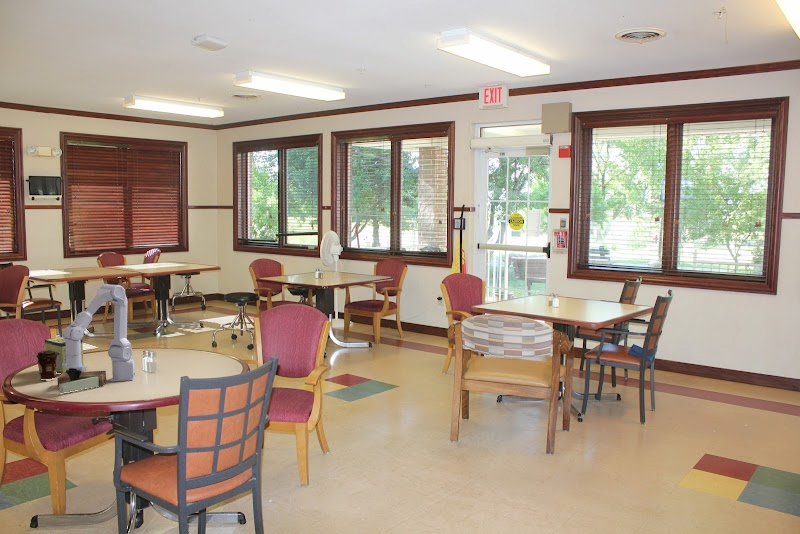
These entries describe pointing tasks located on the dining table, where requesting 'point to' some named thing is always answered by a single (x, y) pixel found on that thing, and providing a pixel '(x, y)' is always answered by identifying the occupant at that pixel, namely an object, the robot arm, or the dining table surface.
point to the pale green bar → (79, 384)
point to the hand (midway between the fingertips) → (74, 385)
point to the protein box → (60, 352)
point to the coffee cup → (47, 364)
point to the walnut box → (84, 377)
